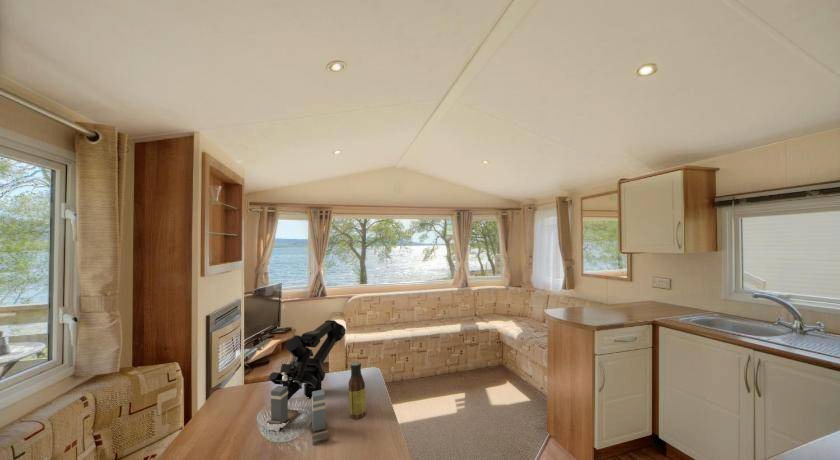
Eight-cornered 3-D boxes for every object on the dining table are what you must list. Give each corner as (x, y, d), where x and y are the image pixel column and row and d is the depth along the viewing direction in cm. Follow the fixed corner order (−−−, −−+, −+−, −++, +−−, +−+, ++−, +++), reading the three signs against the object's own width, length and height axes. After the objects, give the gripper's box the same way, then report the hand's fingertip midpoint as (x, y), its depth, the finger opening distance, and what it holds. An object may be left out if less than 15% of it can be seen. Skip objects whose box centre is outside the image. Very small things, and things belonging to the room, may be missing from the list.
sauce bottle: (369, 412, 119) (368, 361, 119) (359, 421, 113) (358, 367, 114) (355, 409, 122) (354, 359, 122) (345, 417, 116) (344, 365, 117)
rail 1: (287, 411, 121) (287, 404, 121) (298, 412, 120) (298, 405, 120) (266, 430, 109) (266, 421, 109) (279, 431, 108) (278, 423, 108)
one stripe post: (278, 417, 115) (278, 385, 115) (288, 418, 114) (288, 386, 114) (270, 424, 110) (270, 391, 111) (280, 425, 110) (280, 392, 110)
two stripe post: (312, 425, 109) (311, 391, 110) (324, 422, 111) (324, 389, 112) (312, 432, 106) (312, 397, 106) (325, 428, 107) (325, 394, 108)
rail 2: (310, 425, 111) (310, 417, 112) (324, 421, 113) (324, 413, 114) (312, 445, 100) (312, 435, 101) (328, 440, 102) (328, 431, 103)
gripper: (271, 352, 122) (250, 393, 111) (313, 354, 118) (296, 397, 107) (284, 364, 130) (265, 403, 118) (323, 366, 126) (309, 408, 115)
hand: (283, 403), depth 115 cm, fingers closed, pressing on one stripe post
